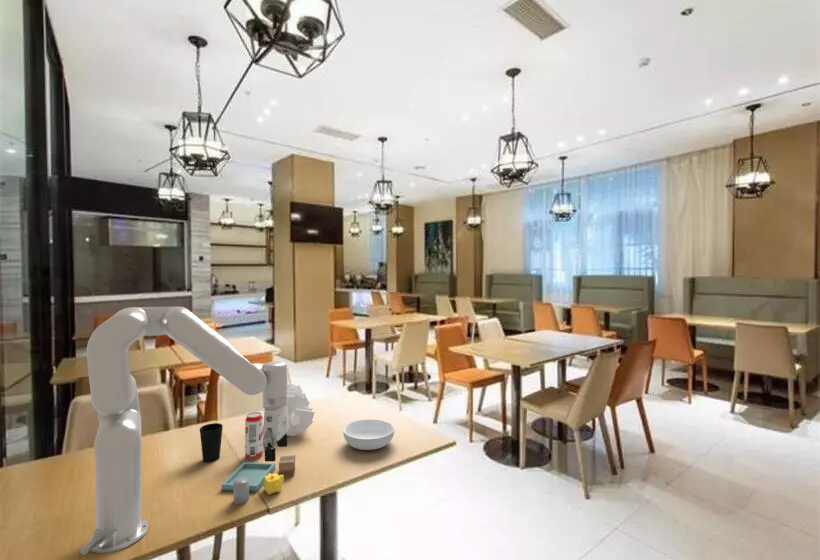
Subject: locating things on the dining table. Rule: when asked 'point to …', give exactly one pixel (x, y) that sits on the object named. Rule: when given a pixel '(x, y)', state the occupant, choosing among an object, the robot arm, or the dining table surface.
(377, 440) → the serving bowl
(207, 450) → the cup
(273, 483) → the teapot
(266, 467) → the tray
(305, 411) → the spiral staircase
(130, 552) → the dining table surface
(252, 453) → the beer can
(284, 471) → the walnut cube
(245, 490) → the grey cylinder
